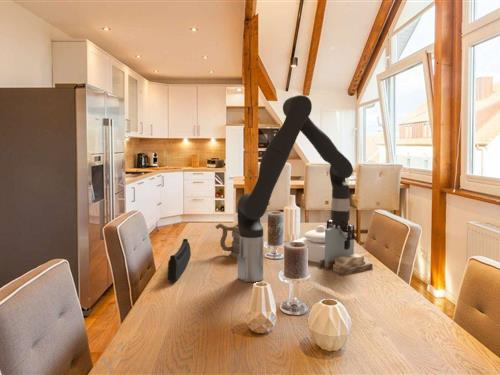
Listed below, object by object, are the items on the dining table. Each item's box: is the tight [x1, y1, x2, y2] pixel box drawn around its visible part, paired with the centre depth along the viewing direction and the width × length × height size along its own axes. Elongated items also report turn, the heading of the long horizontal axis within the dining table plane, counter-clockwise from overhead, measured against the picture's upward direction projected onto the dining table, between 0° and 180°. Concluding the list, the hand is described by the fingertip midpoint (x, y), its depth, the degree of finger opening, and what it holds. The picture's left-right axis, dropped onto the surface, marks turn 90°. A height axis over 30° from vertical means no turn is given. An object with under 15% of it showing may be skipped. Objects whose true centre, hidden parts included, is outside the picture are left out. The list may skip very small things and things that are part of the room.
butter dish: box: [292, 224, 327, 264], centre depth 191 cm, size 18×18×16 cm
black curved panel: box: [167, 238, 192, 282], centre depth 173 cm, size 17×3×30 cm
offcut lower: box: [333, 260, 366, 273], centre depth 173 cm, size 14×4×2 cm, turn 121°
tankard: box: [215, 223, 240, 259], centre depth 199 cm, size 20×13×15 cm, turn 84°
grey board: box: [324, 228, 355, 268], centre depth 177 cm, size 14×2×16 cm, turn 121°
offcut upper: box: [335, 253, 365, 266], centre depth 173 cm, size 12×4×2 cm, turn 121°
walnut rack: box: [317, 259, 374, 277], centre depth 175 cm, size 18×14×4 cm
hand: (339, 247), depth 177 cm, fingers open, 8 cm apart
